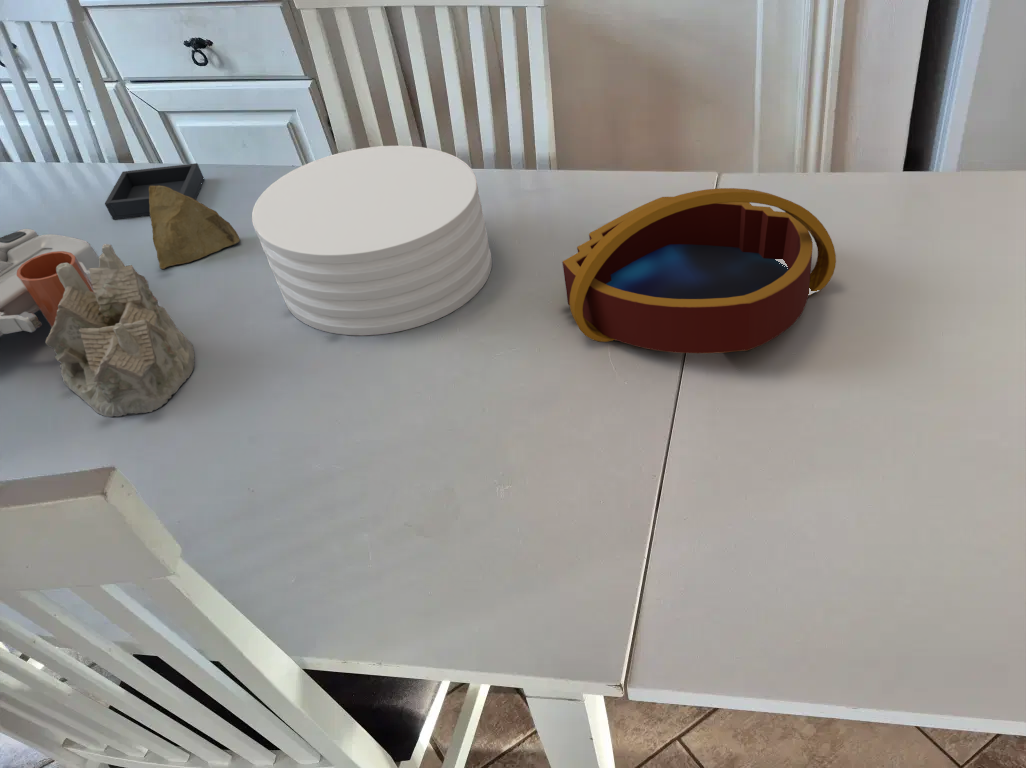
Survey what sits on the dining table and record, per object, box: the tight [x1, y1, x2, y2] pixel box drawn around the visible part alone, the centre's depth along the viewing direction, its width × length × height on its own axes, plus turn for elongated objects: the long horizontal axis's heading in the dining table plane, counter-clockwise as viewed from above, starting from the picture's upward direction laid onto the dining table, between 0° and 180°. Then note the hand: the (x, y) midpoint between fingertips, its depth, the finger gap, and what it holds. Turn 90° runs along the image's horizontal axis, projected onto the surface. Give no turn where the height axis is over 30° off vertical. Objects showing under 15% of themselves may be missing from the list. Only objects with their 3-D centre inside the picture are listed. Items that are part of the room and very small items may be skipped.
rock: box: [149, 185, 241, 270], centre depth 118 cm, size 11×9×10 cm
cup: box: [17, 251, 95, 329], centre depth 104 cm, size 6×6×10 cm
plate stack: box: [251, 145, 493, 336], centre depth 110 cm, size 28×28×12 cm
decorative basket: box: [561, 187, 837, 354], centre depth 101 cm, size 34×29×15 cm
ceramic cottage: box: [45, 243, 196, 418], centre depth 96 cm, size 16×16×15 cm
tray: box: [104, 162, 205, 221], centre depth 131 cm, size 12×11×3 cm
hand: (66, 301), depth 103 cm, fingers open, 8 cm apart
